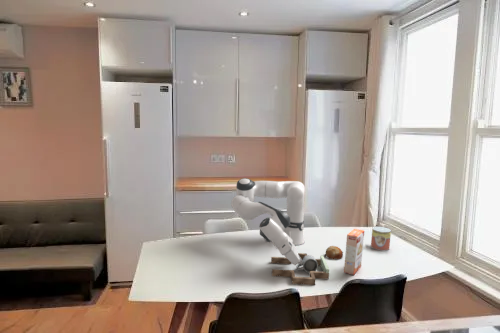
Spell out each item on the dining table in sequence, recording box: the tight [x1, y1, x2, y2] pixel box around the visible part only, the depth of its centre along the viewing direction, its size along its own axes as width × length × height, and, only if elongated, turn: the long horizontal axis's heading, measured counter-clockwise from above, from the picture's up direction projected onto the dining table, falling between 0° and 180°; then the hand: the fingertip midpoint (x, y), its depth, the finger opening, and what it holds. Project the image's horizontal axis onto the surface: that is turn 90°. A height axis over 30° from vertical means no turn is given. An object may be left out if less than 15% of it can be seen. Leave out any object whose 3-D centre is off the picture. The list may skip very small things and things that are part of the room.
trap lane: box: [270, 252, 330, 286], centre depth 187 cm, size 28×33×3 cm
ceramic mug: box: [295, 254, 319, 274], centre depth 187 cm, size 11×8×8 cm
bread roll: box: [324, 245, 344, 260], centre depth 209 cm, size 10×10×8 cm
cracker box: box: [343, 228, 365, 276], centre depth 189 cm, size 14×6×21 cm, turn 148°
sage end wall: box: [319, 255, 330, 274], centre depth 187 cm, size 2×18×5 cm, turn 178°
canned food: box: [370, 226, 392, 252], centre depth 226 cm, size 11×11×12 cm
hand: (302, 262), depth 186 cm, fingers closed, pressing on ceramic mug
